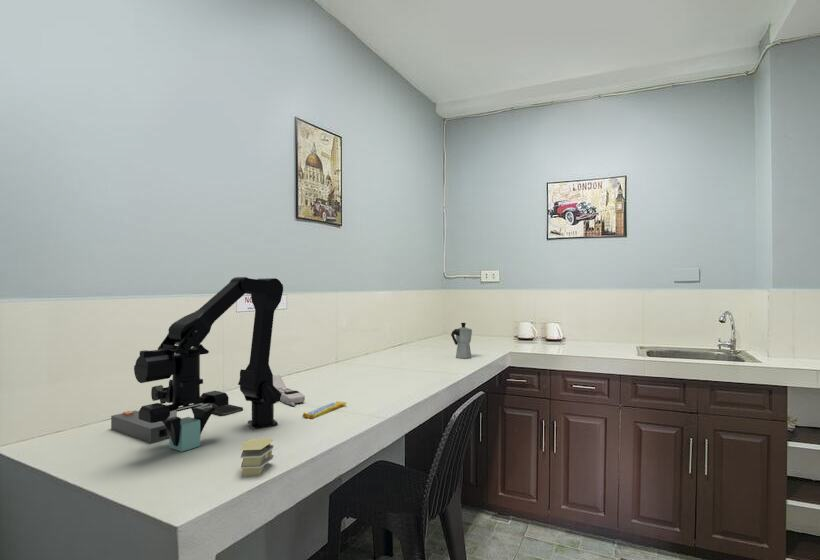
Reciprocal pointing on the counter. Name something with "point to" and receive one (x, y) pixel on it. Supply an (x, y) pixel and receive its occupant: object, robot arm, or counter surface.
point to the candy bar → (324, 410)
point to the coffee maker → (462, 341)
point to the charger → (188, 434)
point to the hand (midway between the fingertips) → (186, 442)
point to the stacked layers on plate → (256, 455)
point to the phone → (226, 410)
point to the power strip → (139, 427)
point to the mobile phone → (287, 392)
